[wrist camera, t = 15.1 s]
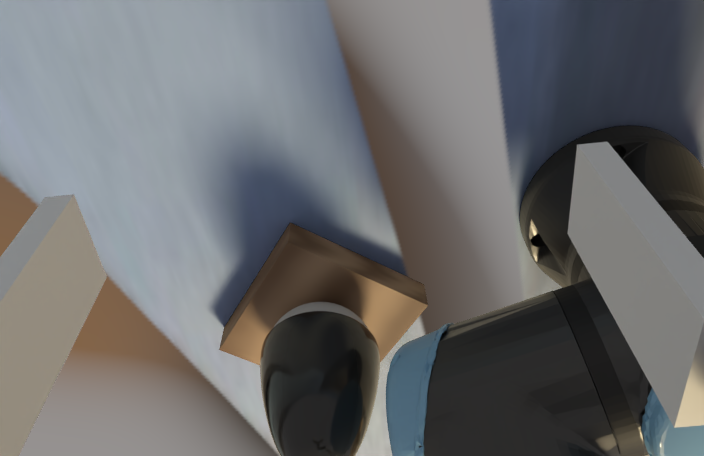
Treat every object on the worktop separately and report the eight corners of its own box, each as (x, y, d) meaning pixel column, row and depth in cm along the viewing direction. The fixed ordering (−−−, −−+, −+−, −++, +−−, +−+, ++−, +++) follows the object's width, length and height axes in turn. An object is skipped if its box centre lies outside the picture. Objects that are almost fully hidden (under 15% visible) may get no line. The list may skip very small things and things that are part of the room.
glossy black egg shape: (252, 354, 59) (229, 503, 46) (282, 270, 54) (265, 412, 41) (354, 378, 61) (359, 526, 48) (393, 299, 56) (410, 443, 43)
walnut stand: (423, 284, 59) (427, 305, 56) (348, 376, 65) (349, 399, 63) (290, 222, 55) (287, 242, 52) (224, 327, 61) (219, 349, 59)
